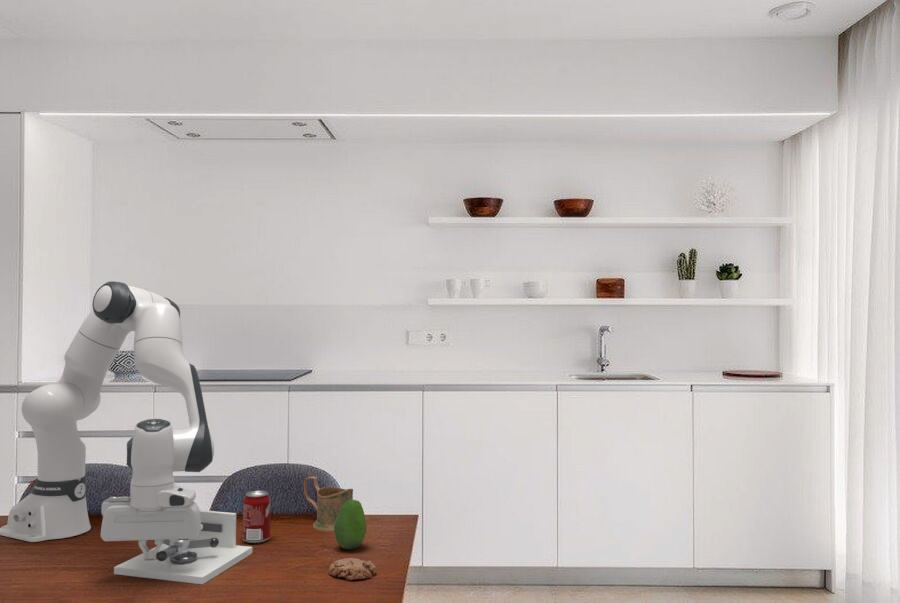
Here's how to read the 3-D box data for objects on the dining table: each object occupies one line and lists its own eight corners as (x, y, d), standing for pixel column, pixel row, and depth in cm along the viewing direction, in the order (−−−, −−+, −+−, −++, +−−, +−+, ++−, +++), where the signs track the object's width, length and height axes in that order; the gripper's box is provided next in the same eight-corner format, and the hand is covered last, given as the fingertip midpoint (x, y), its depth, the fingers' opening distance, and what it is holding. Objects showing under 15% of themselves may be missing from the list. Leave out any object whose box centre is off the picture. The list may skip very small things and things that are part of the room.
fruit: (326, 548, 180) (327, 499, 180) (351, 541, 186) (352, 494, 186) (347, 556, 175) (348, 505, 175) (372, 548, 181) (373, 499, 181)
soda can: (262, 545, 181) (263, 497, 182) (237, 543, 183) (238, 495, 183) (274, 537, 188) (275, 490, 188) (250, 535, 189) (250, 489, 190)
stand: (113, 574, 161) (114, 530, 161) (172, 544, 181) (173, 506, 181) (202, 584, 155) (203, 539, 156) (252, 553, 176) (253, 513, 176)
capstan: (127, 569, 159) (128, 546, 159) (161, 549, 172) (162, 528, 172) (190, 574, 156) (191, 551, 156) (220, 554, 169) (220, 533, 169)
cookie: (330, 567, 168) (330, 554, 168) (376, 566, 168) (376, 553, 169) (325, 583, 158) (326, 569, 158) (375, 582, 159) (375, 568, 159)
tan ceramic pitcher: (319, 513, 211) (320, 472, 211) (364, 524, 201) (365, 480, 201) (289, 522, 202) (289, 479, 202) (334, 534, 191) (335, 488, 192)
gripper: (96, 500, 154) (95, 566, 154) (197, 498, 157) (196, 562, 157) (106, 493, 161) (105, 556, 160) (202, 491, 163) (201, 553, 163)
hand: (151, 559), depth 159 cm, fingers closed
